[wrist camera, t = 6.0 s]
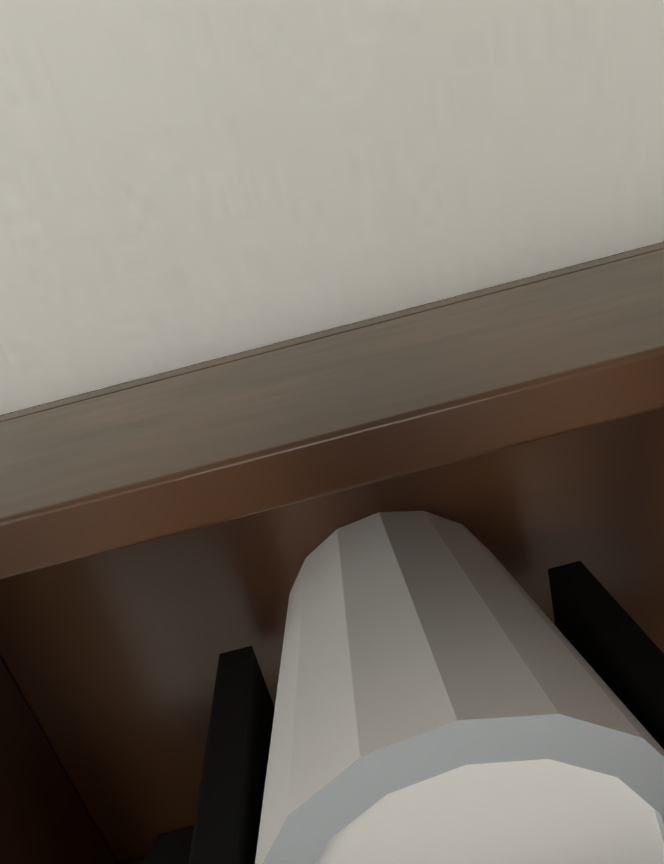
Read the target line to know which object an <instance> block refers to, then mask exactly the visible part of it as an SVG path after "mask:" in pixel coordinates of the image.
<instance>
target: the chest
mask: <svg viewBox="0 0 664 864" xmlns="http://www.w3.org/2000/svg"><path fill="white" fill-rule="evenodd" d="M398 511H426V512H429V513H431V514H434V515H437V516H440V517H443V518H446V519H448V520H451V521H454V522H457V523H460V524H462V525H463V526H465V527H466V528H467V529H468V530H469V531H470V532H471V533H472V534H473V535H474V536H475V537H476V538H477V539H478V540H479V541H480V542H481V543H482V544H483V545H484V546H486V547H487V548H488V549H489V550H490V551H491V553H492V554H493V555H494V556H495V557H496V558H497V559H498V561H499V562H500V563H501V564H502V565H503V566H504V567H505V569H506V570H507V571H508V572H509V573H510V574H511V575H512V577H513V578H514V579H515V580H516V581H517V582H518V583H519V585H520V586H521V587H522V588H523V589H524V590H525V591H526V593H527V594H528V595H529V596H530V597H531V598H532V599H533V601H534V602H535V603H536V604H537V605H538V606H539V607H540V609H541V610H542V611H543V612H544V613H545V614H546V615H547V617H548V618H549V619H550V620H551V621H552V622H553V623H554V625H555V621H554V613H553V606H552V598H551V591H550V583H549V576H548V569H550V568H553V567H557V566H561V565H565V564H569V563H573V562H577V561H581V562H582V563H583V564H584V565H585V566H586V568H587V569H588V570H589V571H590V572H591V573H592V574H593V575H594V576H595V578H596V579H597V580H598V581H599V582H600V583H601V584H602V585H603V586H604V588H605V589H606V590H607V591H608V592H609V593H610V594H611V595H612V596H613V598H614V599H615V600H616V601H617V602H618V603H619V604H620V605H621V607H622V608H623V609H624V610H625V611H626V612H627V613H628V614H629V615H630V617H631V618H632V619H633V620H634V621H635V622H636V623H637V624H638V625H639V627H640V628H641V629H642V630H643V631H644V632H645V633H646V634H647V635H648V637H649V638H650V639H651V640H652V641H653V642H654V643H655V644H656V646H657V647H658V648H659V649H660V650H661V651H662V652H663V653H664V242H662V243H659V244H655V245H651V246H647V247H643V248H639V249H636V250H632V251H628V252H624V253H620V254H616V255H613V256H609V257H605V258H601V259H597V260H594V261H590V262H586V263H582V264H578V265H574V266H571V267H567V268H563V269H559V270H555V271H551V272H548V273H544V274H540V275H536V276H532V277H528V278H525V279H521V280H517V281H513V282H509V283H506V284H502V285H498V286H494V287H490V288H486V289H483V290H479V291H475V292H471V293H467V294H463V295H460V296H456V297H452V298H448V299H444V300H440V301H437V302H433V303H429V304H425V305H421V306H418V307H414V308H410V309H406V310H402V311H398V312H395V313H391V314H387V315H383V316H379V317H375V318H372V319H368V320H364V321H360V322H356V323H353V324H349V325H345V326H341V327H337V328H333V329H330V330H326V331H322V332H318V333H314V334H310V335H307V336H303V337H299V338H295V339H291V340H287V341H284V342H280V343H276V344H272V345H268V346H265V347H261V348H257V349H253V350H249V351H245V352H242V353H238V354H234V355H230V356H226V357H222V358H219V359H215V360H211V361H207V362H203V363H199V364H196V365H192V366H188V367H184V368H180V369H177V370H173V371H169V372H165V373H161V374H157V375H154V376H150V377H146V378H142V379H138V380H134V381H131V382H127V383H123V384H119V385H115V386H112V387H108V388H104V389H100V390H96V391H92V392H89V393H85V394H81V395H77V396H73V397H69V398H66V399H62V400H58V401H54V402H50V403H46V404H43V405H39V406H35V407H31V408H27V409H24V410H20V411H16V412H12V413H8V414H4V415H1V416H0V864H142V862H143V860H144V858H145V857H146V855H147V853H148V851H149V849H150V847H151V846H152V844H153V842H154V840H155V838H156V836H157V834H161V833H165V832H169V831H173V830H177V829H180V828H184V827H188V826H192V825H194V823H195V816H196V809H197V803H198V796H199V789H200V782H201V775H202V769H203V762H204V755H205V748H206V742H207V735H208V728H209V721H210V714H211V708H212V701H213V694H214V687H215V680H216V674H217V667H218V660H219V654H221V653H225V652H229V651H233V650H237V649H240V648H244V647H248V646H252V647H253V650H254V653H255V655H256V658H257V661H258V664H259V666H260V669H261V672H262V675H263V677H264V680H265V683H266V685H267V688H268V691H269V694H270V696H271V699H272V702H273V705H274V707H275V702H276V695H277V687H278V679H279V671H280V663H281V656H282V648H283V640H284V632H285V624H286V617H287V609H288V601H289V593H290V591H291V589H292V587H293V585H294V582H295V580H296V578H297V576H298V574H299V571H300V569H301V567H302V565H303V563H304V560H305V558H306V557H307V556H308V555H309V554H310V553H312V552H313V551H314V550H315V549H316V548H317V547H318V546H319V545H320V544H321V543H322V542H323V541H325V540H326V539H327V538H328V537H329V536H330V535H331V534H332V533H333V532H334V531H335V530H337V529H338V528H341V527H343V526H346V525H348V524H351V523H353V522H356V521H358V520H361V519H363V518H366V517H368V516H370V515H373V514H375V513H378V512H398Z"/></svg>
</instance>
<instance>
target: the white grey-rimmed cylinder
mask: <svg viewBox="0 0 664 864" xmlns="http://www.w3.org/2000/svg"><path fill="white" fill-rule="evenodd" d="M255 864H664V749H663V748H662V747H661V746H660V745H659V744H658V742H657V741H656V740H655V739H654V738H653V737H652V736H651V734H650V733H649V732H648V731H647V730H646V729H645V728H644V726H643V725H642V724H641V723H640V722H639V721H638V720H637V718H636V717H635V716H634V715H633V714H632V713H631V712H630V710H629V709H628V708H627V707H626V706H625V705H624V704H623V702H622V701H621V700H620V699H619V698H618V697H617V696H616V694H615V693H614V692H613V691H612V690H611V689H610V688H609V686H608V685H607V684H606V683H605V682H604V681H603V680H602V678H601V677H600V676H599V675H598V674H597V673H596V672H595V670H594V669H593V668H592V667H591V666H590V665H589V664H588V662H587V661H586V660H585V659H584V658H583V657H582V656H581V654H580V653H579V652H578V651H577V650H576V649H575V647H574V646H573V645H572V644H571V643H570V642H569V641H568V639H567V638H566V637H565V636H564V635H563V634H562V633H561V631H560V630H559V629H558V628H557V627H556V626H555V625H554V623H553V622H552V621H551V620H550V619H549V618H548V617H547V615H546V614H545V613H544V612H543V611H542V610H541V609H540V607H539V606H538V605H537V604H536V603H535V602H534V601H533V599H532V598H531V597H530V596H529V595H528V594H527V593H526V591H525V590H524V589H523V588H522V587H521V586H520V585H519V583H518V582H517V581H516V580H515V579H514V578H513V577H512V575H511V574H510V573H509V572H508V571H507V570H506V569H505V567H504V566H503V565H502V564H501V563H500V562H499V561H498V559H497V558H496V557H495V556H494V555H493V554H492V553H491V551H490V550H489V549H488V548H487V547H486V546H484V545H483V544H482V543H481V542H480V541H479V540H478V539H477V538H476V537H475V536H474V535H473V534H472V533H471V532H470V531H469V530H468V529H467V528H466V527H465V526H463V525H462V524H460V523H457V522H454V521H451V520H448V519H446V518H443V517H440V516H437V515H434V514H431V513H429V512H426V511H398V512H378V513H375V514H373V515H370V516H368V517H366V518H363V519H361V520H358V521H356V522H353V523H351V524H348V525H346V526H343V527H341V528H338V529H337V530H335V531H334V532H333V533H332V534H331V535H330V536H329V537H328V538H327V539H326V540H325V541H323V542H322V543H321V544H320V545H319V546H318V547H317V548H316V549H315V550H314V551H313V552H312V553H310V554H309V555H308V556H307V557H306V558H305V560H304V563H303V565H302V567H301V569H300V571H299V574H298V576H297V578H296V580H295V582H294V585H293V587H292V589H291V591H290V593H289V601H288V609H287V617H286V624H285V632H284V640H283V648H282V656H281V663H280V671H279V679H278V687H277V695H276V702H275V710H274V718H273V726H272V734H271V741H270V749H269V757H268V765H267V773H266V780H265V788H264V796H263V804H262V812H261V819H260V827H259V835H258V843H257V851H256V858H255Z"/></svg>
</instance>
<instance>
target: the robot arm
mask: <svg viewBox="0 0 664 864" xmlns="http://www.w3.org/2000/svg"><path fill="white" fill-rule="evenodd" d="M548 576H549V583H550V591H551V598H552V606H553V613H554V621H555V626H556V627H557V628H558V629H559V630H560V631H561V633H562V634H563V635H564V636H565V637H566V638H567V639H568V641H569V642H570V643H571V644H572V645H573V646H574V647H575V649H576V650H577V651H578V652H579V653H580V654H581V656H582V657H583V658H584V659H585V660H586V661H587V662H588V664H589V665H590V666H591V667H592V668H593V669H594V670H595V672H596V673H597V674H598V675H599V676H600V677H601V678H602V680H603V681H604V682H605V683H606V684H607V685H608V686H609V688H610V689H611V690H612V691H613V692H614V693H615V694H616V696H617V697H618V698H619V699H620V700H621V701H622V702H623V704H624V705H625V706H626V707H627V708H628V709H629V710H630V712H631V713H632V714H633V715H634V716H635V717H636V718H637V720H638V721H639V722H640V723H641V724H642V725H643V726H644V728H645V729H646V730H647V731H648V732H649V733H650V734H651V736H652V737H653V738H654V739H655V740H656V741H657V742H658V744H659V745H660V746H661V747H662V748H663V749H664V653H663V652H662V651H661V650H660V649H659V648H658V647H657V646H656V644H655V643H654V642H653V641H652V640H651V639H650V638H649V637H648V635H647V634H646V633H645V632H644V631H643V630H642V629H641V628H640V627H639V625H638V624H637V623H636V622H635V621H634V620H633V619H632V618H631V617H630V615H629V614H628V613H627V612H626V611H625V610H624V609H623V608H622V607H621V605H620V604H619V603H618V602H617V601H616V600H615V599H614V598H613V596H612V595H611V594H610V593H609V592H608V591H607V590H606V589H605V588H604V586H603V585H602V584H601V583H600V582H599V581H598V580H597V579H596V578H595V576H594V575H593V574H592V573H591V572H590V571H589V570H588V569H587V568H586V566H585V565H584V564H583V563H582V562H581V561H577V562H573V563H569V564H565V565H561V566H557V567H553V568H550V569H548ZM274 710H275V707H274V705H273V702H272V699H271V696H270V694H269V691H268V688H267V685H266V683H265V680H264V677H263V675H262V672H261V669H260V666H259V664H258V661H257V658H256V655H255V653H254V650H253V647H252V646H248V647H244V648H240V649H237V650H233V651H229V652H225V653H221V654H219V660H218V667H217V674H216V680H215V687H214V694H213V701H212V708H211V714H210V721H209V728H208V735H207V742H206V748H205V755H204V762H203V769H202V775H201V782H200V789H199V796H198V803H197V809H196V816H195V823H194V825H192V826H188V827H184V828H180V829H177V830H173V831H169V832H165V833H161V834H157V836H156V838H155V840H154V842H153V844H152V846H151V847H150V849H149V851H148V853H147V855H146V857H145V858H144V860H143V862H142V864H255V858H256V851H257V843H258V835H259V827H260V819H261V812H262V804H263V796H264V788H265V780H266V773H267V765H268V757H269V749H270V741H271V734H272V726H273V718H274Z"/></svg>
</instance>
